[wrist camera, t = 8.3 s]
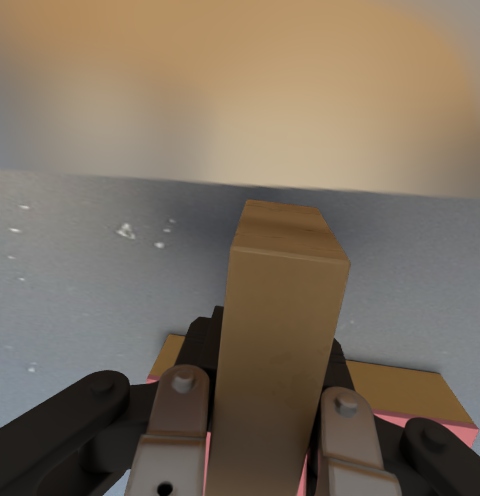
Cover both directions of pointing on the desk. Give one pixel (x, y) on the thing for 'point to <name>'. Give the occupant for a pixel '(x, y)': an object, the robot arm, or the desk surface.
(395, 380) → the cake
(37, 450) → the robot arm
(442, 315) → the desk surface
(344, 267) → the cake knife
